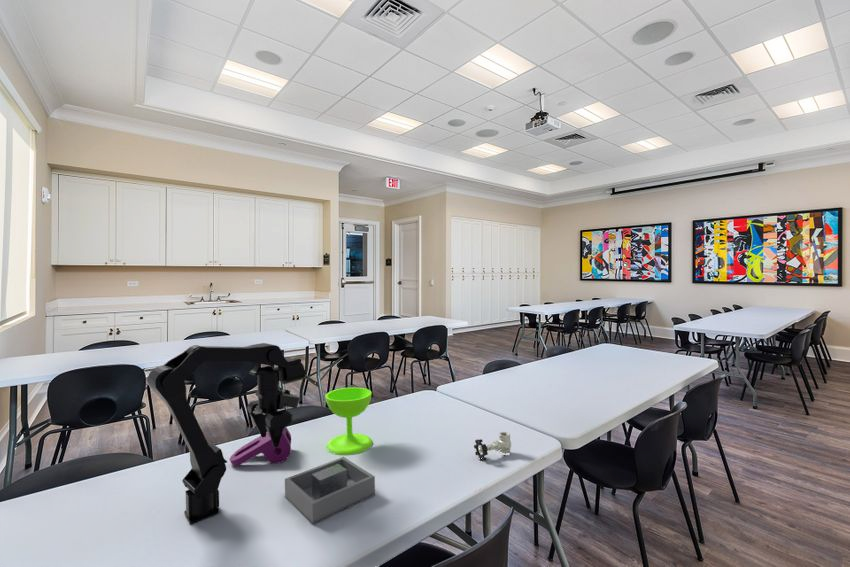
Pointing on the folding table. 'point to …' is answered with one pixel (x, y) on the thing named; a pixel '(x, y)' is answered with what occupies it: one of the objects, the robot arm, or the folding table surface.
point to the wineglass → (348, 419)
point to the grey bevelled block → (328, 481)
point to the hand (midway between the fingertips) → (269, 441)
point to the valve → (494, 445)
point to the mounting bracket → (264, 449)
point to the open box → (324, 507)
